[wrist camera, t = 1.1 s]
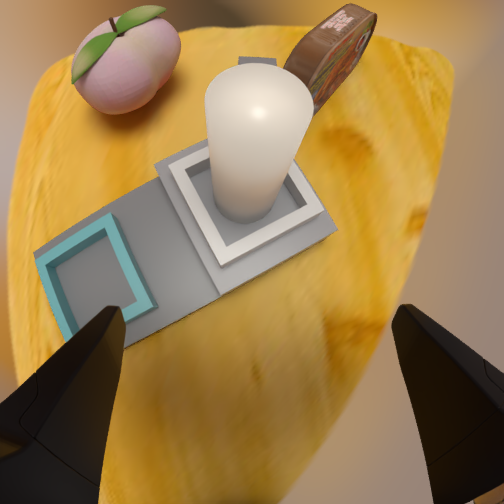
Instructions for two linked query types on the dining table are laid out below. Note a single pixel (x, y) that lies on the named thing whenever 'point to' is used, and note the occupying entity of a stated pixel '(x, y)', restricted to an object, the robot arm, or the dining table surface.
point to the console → (172, 248)
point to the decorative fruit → (126, 60)
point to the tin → (331, 51)
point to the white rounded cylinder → (253, 134)
